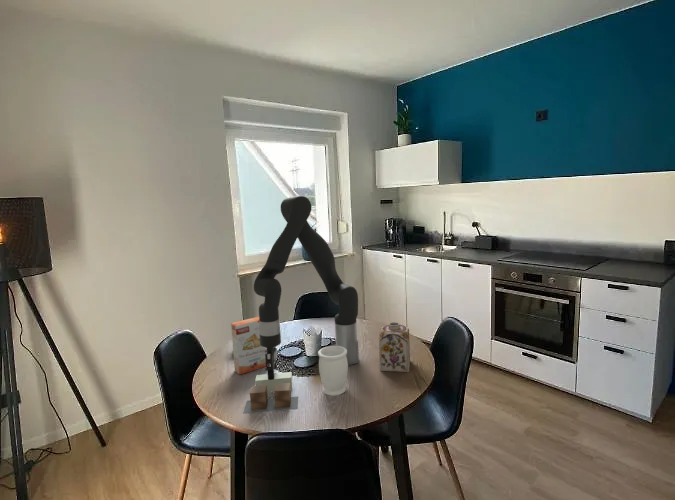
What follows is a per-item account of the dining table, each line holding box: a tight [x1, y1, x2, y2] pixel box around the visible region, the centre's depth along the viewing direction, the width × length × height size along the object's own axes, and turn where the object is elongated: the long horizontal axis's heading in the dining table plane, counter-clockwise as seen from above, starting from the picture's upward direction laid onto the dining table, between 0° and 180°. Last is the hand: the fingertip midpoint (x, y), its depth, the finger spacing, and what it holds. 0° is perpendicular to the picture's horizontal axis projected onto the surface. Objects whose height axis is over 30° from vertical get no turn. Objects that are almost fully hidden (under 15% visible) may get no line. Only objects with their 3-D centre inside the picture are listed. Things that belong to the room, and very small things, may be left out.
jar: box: [317, 345, 349, 396], centre depth 136 cm, size 11×10×15 cm
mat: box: [242, 396, 299, 414], centre depth 128 cm, size 18×8×1 cm, turn 94°
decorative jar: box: [378, 321, 411, 373], centre depth 153 cm, size 12×12×18 cm
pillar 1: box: [249, 385, 269, 410], centre depth 128 cm, size 5×5×6 cm
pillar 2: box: [273, 383, 292, 408], centre depth 128 cm, size 5×5×6 cm
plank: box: [254, 371, 294, 393], centre depth 139 cm, size 13×4×6 cm, turn 95°
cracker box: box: [230, 316, 270, 376], centre depth 157 cm, size 14×6×21 cm, turn 126°
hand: (272, 373), depth 138 cm, fingers open, 8 cm apart
